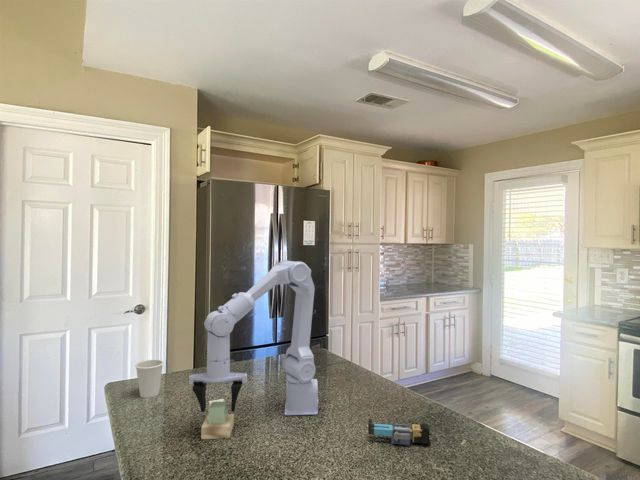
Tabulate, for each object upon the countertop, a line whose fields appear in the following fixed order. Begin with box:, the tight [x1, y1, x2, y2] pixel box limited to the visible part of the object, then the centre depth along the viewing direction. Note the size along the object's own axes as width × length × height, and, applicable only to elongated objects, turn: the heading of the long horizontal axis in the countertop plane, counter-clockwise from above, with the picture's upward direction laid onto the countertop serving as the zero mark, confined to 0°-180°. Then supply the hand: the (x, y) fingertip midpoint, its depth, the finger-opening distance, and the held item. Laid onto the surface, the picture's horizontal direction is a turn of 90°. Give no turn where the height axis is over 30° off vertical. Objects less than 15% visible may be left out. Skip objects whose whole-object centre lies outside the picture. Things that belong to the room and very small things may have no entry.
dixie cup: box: [135, 359, 164, 399], centre depth 124 cm, size 8×8×10 cm
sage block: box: [208, 401, 229, 424], centre depth 100 cm, size 4×4×4 cm
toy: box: [367, 418, 431, 447], centre depth 96 cm, size 6×4×15 cm
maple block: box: [200, 413, 235, 440], centre depth 100 cm, size 7×7×3 cm
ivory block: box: [208, 398, 226, 408], centre depth 109 cm, size 4×4×4 cm
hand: (218, 410), depth 100 cm, fingers open, 7 cm apart
